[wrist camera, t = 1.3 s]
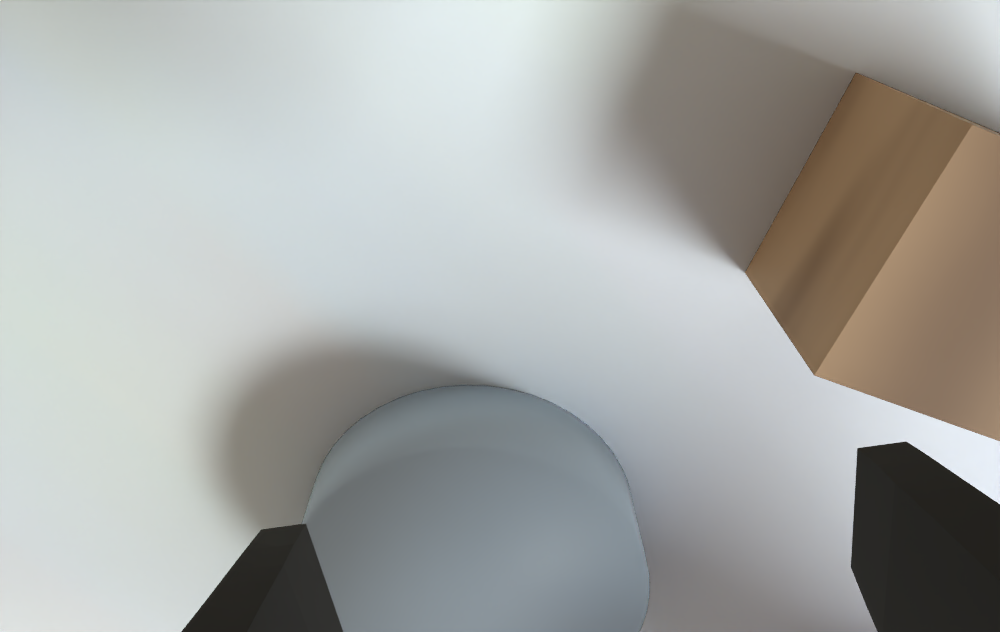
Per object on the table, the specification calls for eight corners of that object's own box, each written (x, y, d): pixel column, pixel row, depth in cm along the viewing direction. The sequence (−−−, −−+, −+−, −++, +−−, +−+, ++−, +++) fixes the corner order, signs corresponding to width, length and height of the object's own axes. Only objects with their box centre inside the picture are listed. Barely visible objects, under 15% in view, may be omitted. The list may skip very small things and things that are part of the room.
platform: (686, 440, 22) (712, 513, 20) (558, 665, 26) (566, 753, 23) (365, 336, 21) (345, 399, 18) (277, 589, 24) (250, 673, 22)
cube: (1047, 153, 19) (1219, 229, 14) (921, 337, 21) (1038, 455, 16) (854, 71, 18) (973, 124, 13) (744, 271, 20) (814, 375, 15)
